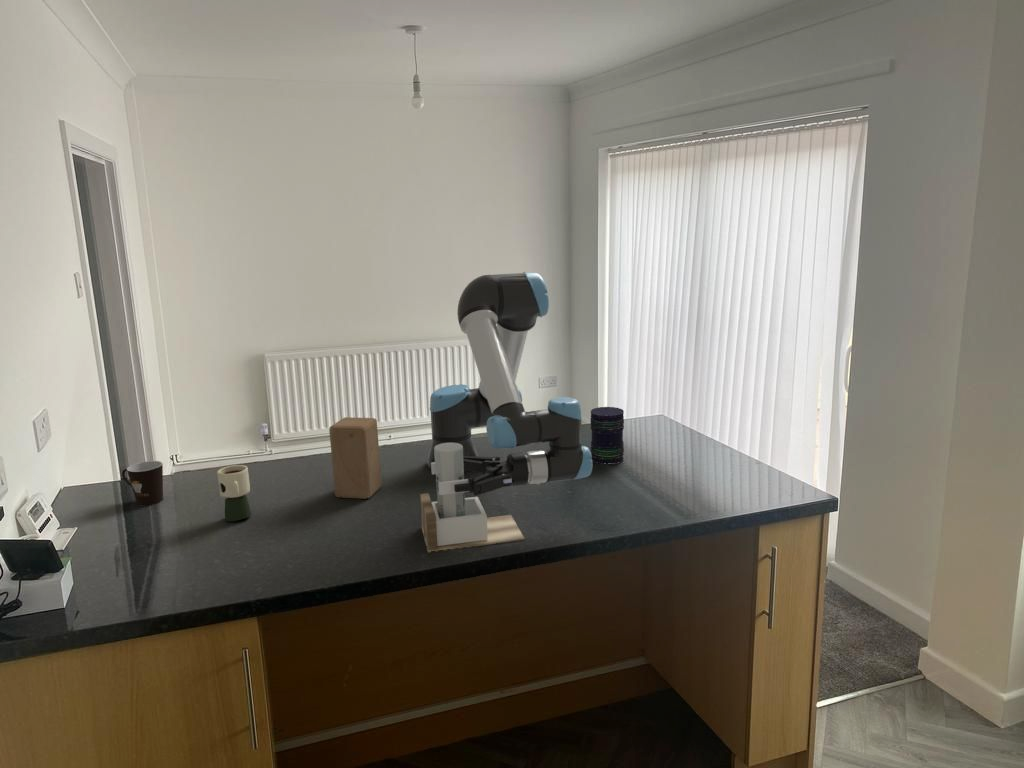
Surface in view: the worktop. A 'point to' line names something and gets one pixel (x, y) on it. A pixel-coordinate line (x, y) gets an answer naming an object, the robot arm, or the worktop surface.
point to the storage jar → (607, 435)
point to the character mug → (235, 491)
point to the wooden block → (355, 457)
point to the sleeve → (462, 524)
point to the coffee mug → (146, 481)
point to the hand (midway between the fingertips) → (434, 478)
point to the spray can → (449, 478)
